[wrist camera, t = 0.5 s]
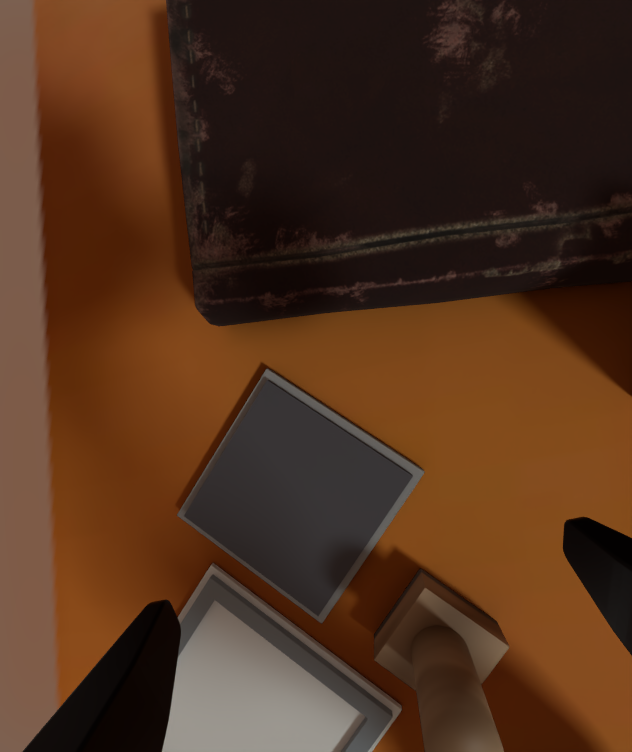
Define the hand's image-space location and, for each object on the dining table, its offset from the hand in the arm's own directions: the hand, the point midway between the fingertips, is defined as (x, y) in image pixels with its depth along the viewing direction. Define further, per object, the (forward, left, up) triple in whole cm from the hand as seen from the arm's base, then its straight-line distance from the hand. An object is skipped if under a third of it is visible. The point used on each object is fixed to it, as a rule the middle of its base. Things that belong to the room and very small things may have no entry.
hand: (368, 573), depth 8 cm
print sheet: (-3, +19, -14) cm, 23 cm away
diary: (+7, -16, -14) cm, 23 cm away
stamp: (-9, +7, -14) cm, 17 cm away
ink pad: (+2, +5, -14) cm, 15 cm away
